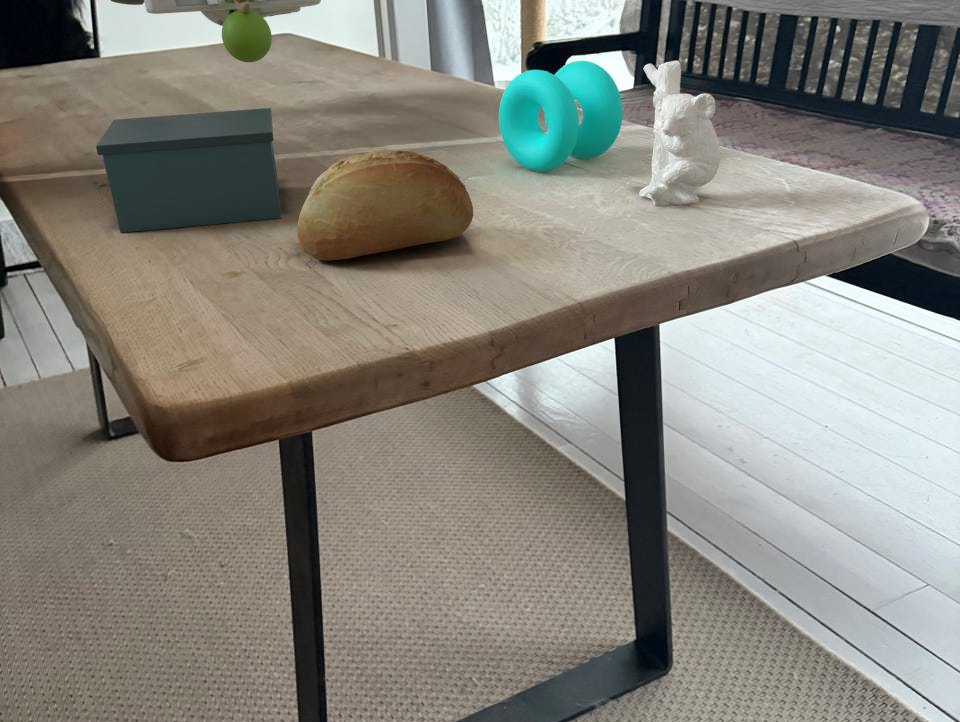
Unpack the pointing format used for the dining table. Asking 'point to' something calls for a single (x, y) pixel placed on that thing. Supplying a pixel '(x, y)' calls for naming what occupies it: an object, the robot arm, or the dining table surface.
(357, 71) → the dining table surface
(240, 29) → the snail figurine
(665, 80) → the koala figurine
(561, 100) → the donuts
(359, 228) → the bread roll
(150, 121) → the container
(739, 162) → the dining table surface
